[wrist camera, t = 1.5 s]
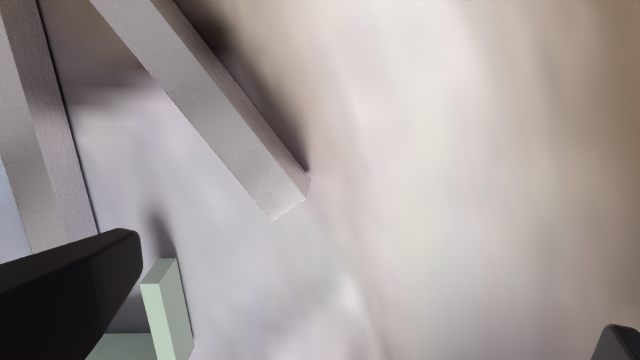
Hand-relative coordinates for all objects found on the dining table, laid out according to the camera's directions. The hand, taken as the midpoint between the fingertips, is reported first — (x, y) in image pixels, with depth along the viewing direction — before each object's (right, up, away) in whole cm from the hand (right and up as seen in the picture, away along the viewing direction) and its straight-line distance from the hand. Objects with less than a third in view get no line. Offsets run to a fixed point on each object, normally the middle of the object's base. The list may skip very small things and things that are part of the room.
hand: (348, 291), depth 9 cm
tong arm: (-8, +9, +12) cm, 17 cm away
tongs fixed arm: (-14, +6, +14) cm, 21 cm away
